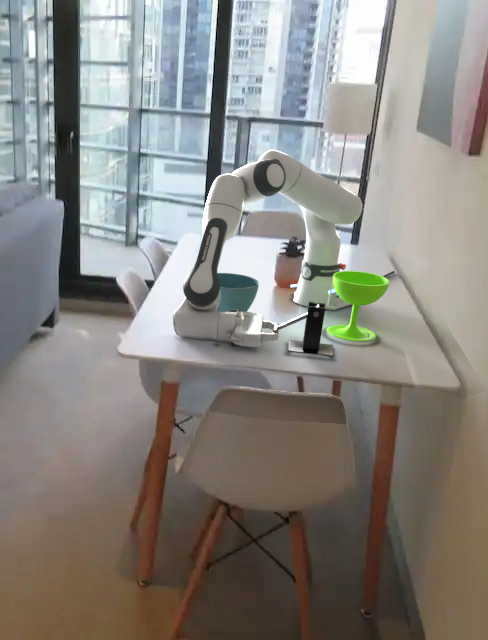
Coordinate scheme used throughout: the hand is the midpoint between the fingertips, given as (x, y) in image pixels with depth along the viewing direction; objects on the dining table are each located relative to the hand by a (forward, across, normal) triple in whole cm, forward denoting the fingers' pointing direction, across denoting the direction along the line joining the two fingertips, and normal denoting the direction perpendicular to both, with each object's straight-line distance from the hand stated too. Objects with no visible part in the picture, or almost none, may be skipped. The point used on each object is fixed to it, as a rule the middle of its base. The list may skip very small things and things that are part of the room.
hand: (278, 331), depth 202 cm
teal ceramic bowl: (-16, +22, +4) cm, 28 cm away
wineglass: (+22, +17, +6) cm, 28 cm away
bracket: (+9, 0, +5) cm, 10 cm away
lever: (+5, 0, -3) cm, 6 cm away
